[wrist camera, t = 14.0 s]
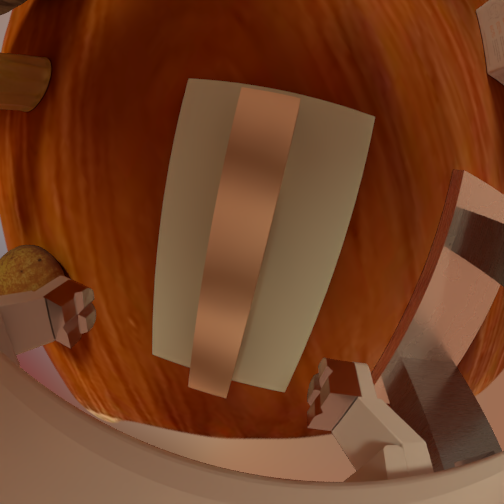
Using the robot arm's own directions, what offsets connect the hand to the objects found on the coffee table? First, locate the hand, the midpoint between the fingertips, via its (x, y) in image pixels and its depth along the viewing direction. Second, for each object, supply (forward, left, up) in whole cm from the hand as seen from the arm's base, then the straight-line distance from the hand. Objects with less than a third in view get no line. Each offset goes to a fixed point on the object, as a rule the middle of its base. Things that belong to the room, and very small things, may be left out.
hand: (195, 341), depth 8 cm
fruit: (+9, -19, -11) cm, 24 cm away
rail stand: (+1, +17, -11) cm, 20 cm away
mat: (+1, 0, -11) cm, 11 cm away
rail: (+1, 0, -10) cm, 10 cm away
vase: (-11, -25, -11) cm, 30 cm away
